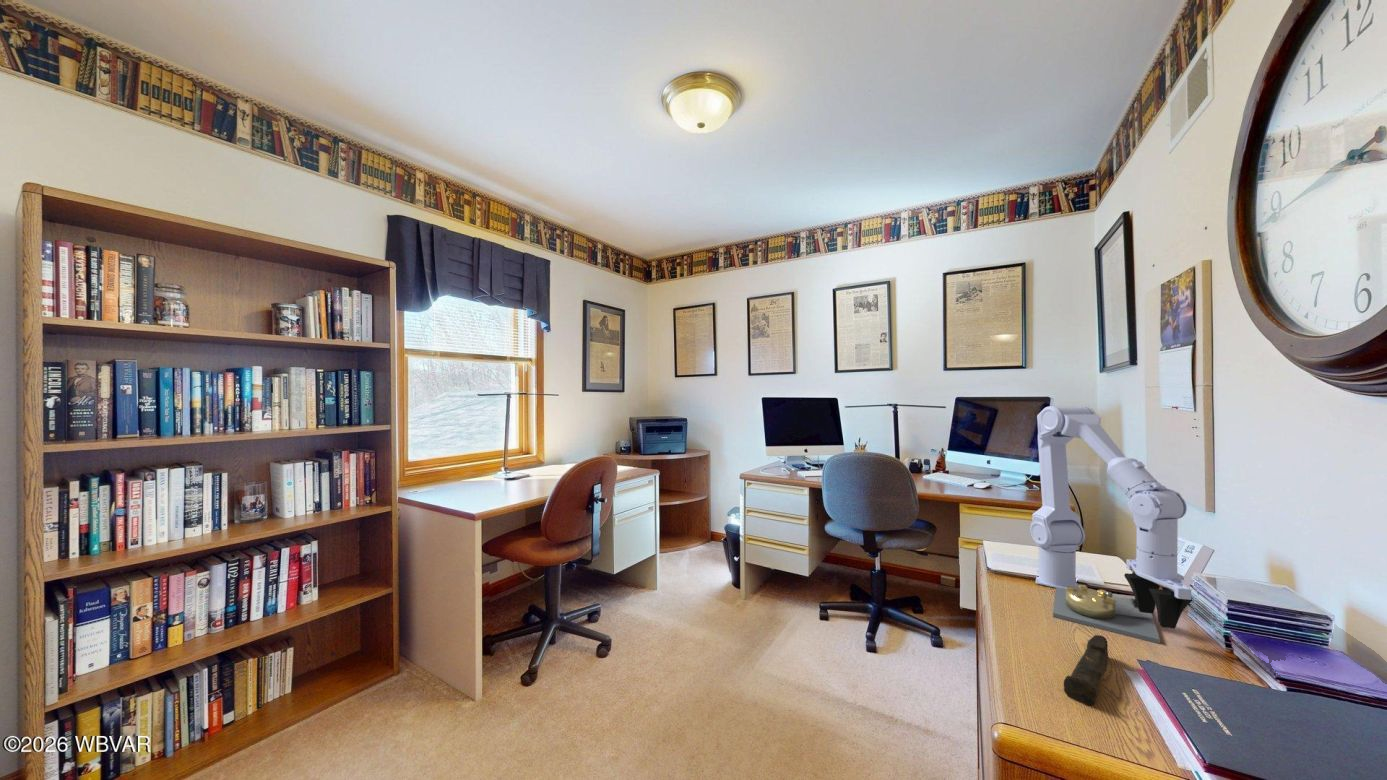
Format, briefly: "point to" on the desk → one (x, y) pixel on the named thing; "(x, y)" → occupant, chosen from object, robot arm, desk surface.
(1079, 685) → the dark brown statuette
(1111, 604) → the gold rounded piece
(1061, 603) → the base plate
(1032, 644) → the desk surface
